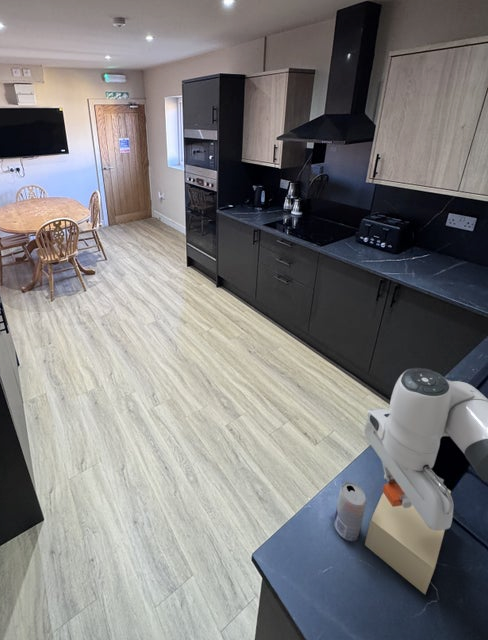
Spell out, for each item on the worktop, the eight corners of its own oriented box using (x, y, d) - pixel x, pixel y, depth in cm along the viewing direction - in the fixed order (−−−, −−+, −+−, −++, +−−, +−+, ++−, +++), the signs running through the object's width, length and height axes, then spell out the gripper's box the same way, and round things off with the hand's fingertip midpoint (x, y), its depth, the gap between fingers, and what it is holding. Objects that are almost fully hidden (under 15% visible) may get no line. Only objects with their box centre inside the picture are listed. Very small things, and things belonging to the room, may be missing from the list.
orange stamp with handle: (392, 506, 67) (394, 500, 67) (382, 491, 70) (383, 484, 70) (429, 501, 68) (431, 495, 67) (417, 486, 71) (419, 479, 70)
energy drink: (351, 515, 79) (358, 480, 75) (363, 541, 74) (371, 505, 70) (329, 516, 79) (336, 481, 75) (340, 542, 74) (347, 506, 70)
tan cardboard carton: (383, 503, 82) (389, 479, 79) (439, 543, 74) (448, 518, 71) (364, 544, 73) (370, 519, 71) (425, 595, 65) (434, 568, 63)
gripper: (471, 497, 55) (453, 549, 59) (389, 402, 74) (379, 447, 78) (437, 501, 54) (421, 554, 58) (363, 405, 73) (354, 450, 78)
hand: (396, 492), depth 69 cm, fingers closed on orange stamp with handle, 3 cm apart
